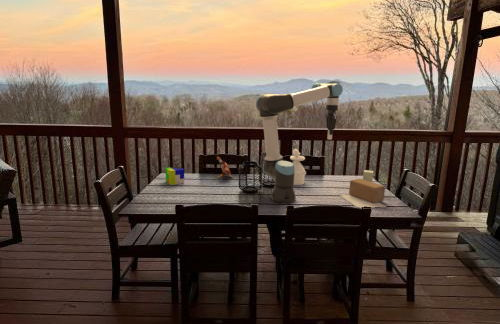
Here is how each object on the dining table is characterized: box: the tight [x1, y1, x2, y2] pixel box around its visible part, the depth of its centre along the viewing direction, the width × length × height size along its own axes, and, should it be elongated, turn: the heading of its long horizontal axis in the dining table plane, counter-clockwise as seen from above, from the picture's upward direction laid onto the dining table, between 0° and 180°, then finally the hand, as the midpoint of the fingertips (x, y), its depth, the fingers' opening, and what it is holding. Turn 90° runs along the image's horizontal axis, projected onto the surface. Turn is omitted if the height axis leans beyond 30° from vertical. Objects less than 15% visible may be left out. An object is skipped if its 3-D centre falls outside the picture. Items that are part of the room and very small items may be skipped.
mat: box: [339, 194, 387, 209], centre depth 206 cm, size 23×18×1 cm
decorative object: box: [289, 148, 307, 186], centre depth 241 cm, size 16×14×25 cm
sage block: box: [362, 169, 374, 182], centre depth 227 cm, size 6×6×14 cm
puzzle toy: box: [164, 166, 185, 186], centre depth 236 cm, size 10×10×10 cm
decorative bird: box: [216, 155, 234, 179], centre depth 251 cm, size 28×18×15 cm, turn 6°
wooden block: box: [348, 178, 386, 203], centre depth 211 cm, size 10×10×20 cm
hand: (329, 139), depth 227 cm, fingers closed
